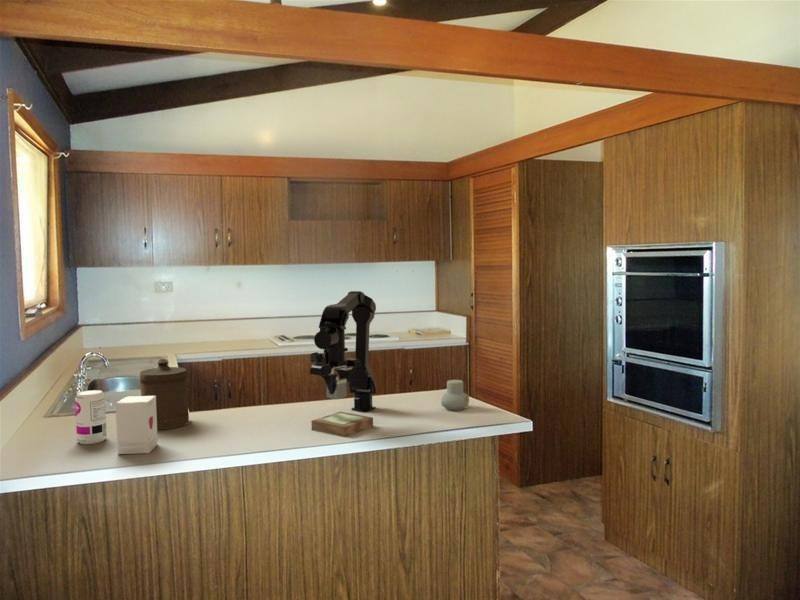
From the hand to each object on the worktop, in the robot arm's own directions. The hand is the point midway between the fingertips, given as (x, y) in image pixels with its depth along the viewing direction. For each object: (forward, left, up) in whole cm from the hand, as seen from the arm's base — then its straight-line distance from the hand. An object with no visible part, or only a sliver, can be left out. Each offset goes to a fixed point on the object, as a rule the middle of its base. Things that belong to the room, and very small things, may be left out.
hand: (336, 392), depth 207 cm
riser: (0, +2, -11) cm, 11 cm away
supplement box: (+50, -33, -11) cm, 61 cm away
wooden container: (+29, -51, -11) cm, 60 cm away
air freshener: (-42, +19, -11) cm, 47 cm away
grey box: (0, 0, -1) cm, 1 cm away
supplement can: (+53, -53, -11) cm, 76 cm away
